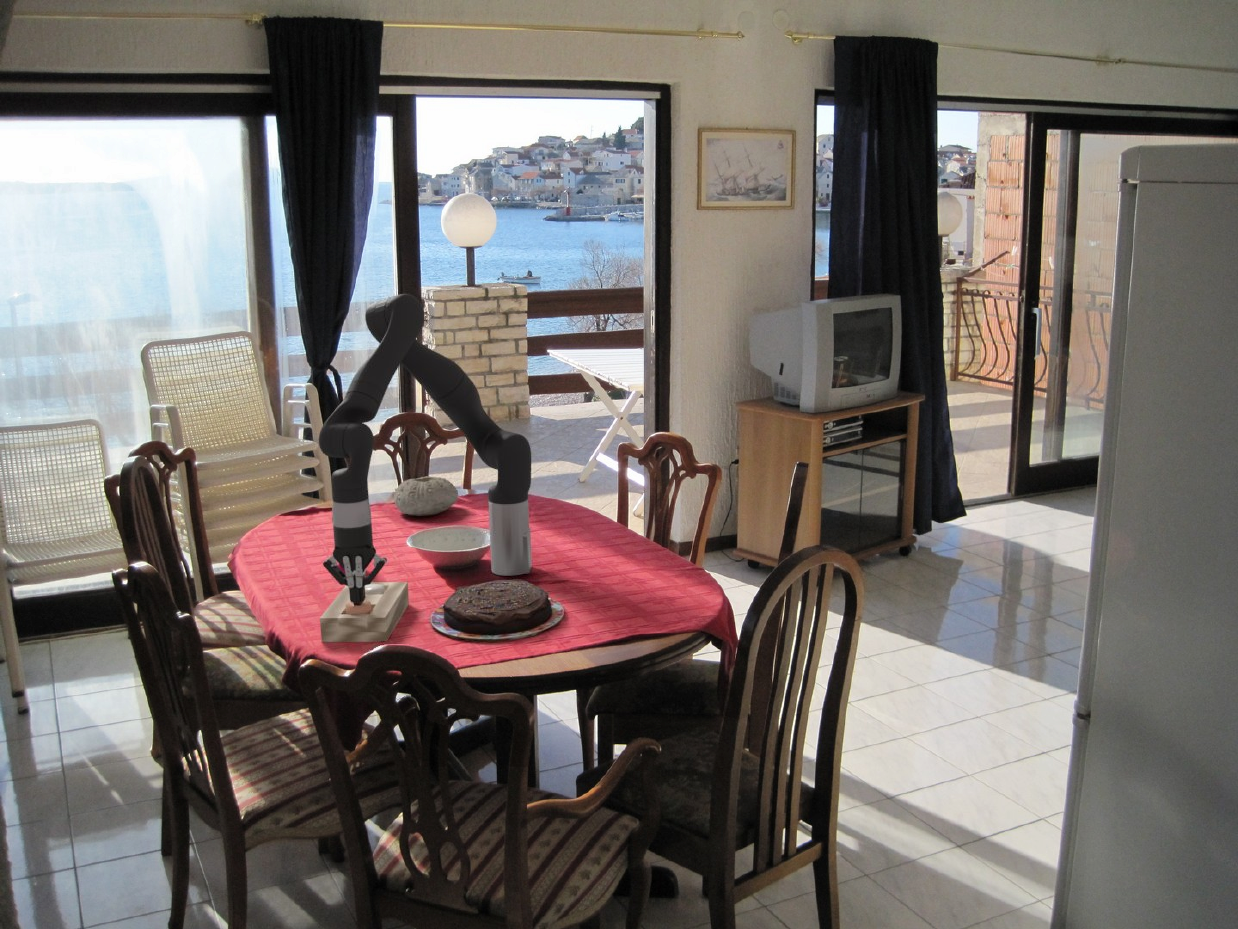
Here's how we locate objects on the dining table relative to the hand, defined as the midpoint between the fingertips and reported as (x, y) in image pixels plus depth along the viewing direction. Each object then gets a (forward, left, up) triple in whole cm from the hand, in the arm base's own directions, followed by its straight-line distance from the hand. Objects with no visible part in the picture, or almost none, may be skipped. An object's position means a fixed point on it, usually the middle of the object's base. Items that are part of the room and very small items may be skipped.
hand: (358, 603), depth 236 cm
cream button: (0, -12, -4) cm, 13 cm away
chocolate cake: (-27, -8, -7) cm, 29 cm away
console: (0, -6, -6) cm, 9 cm away
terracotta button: (0, 0, -4) cm, 4 cm away
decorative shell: (+4, -93, -6) cm, 93 cm away
